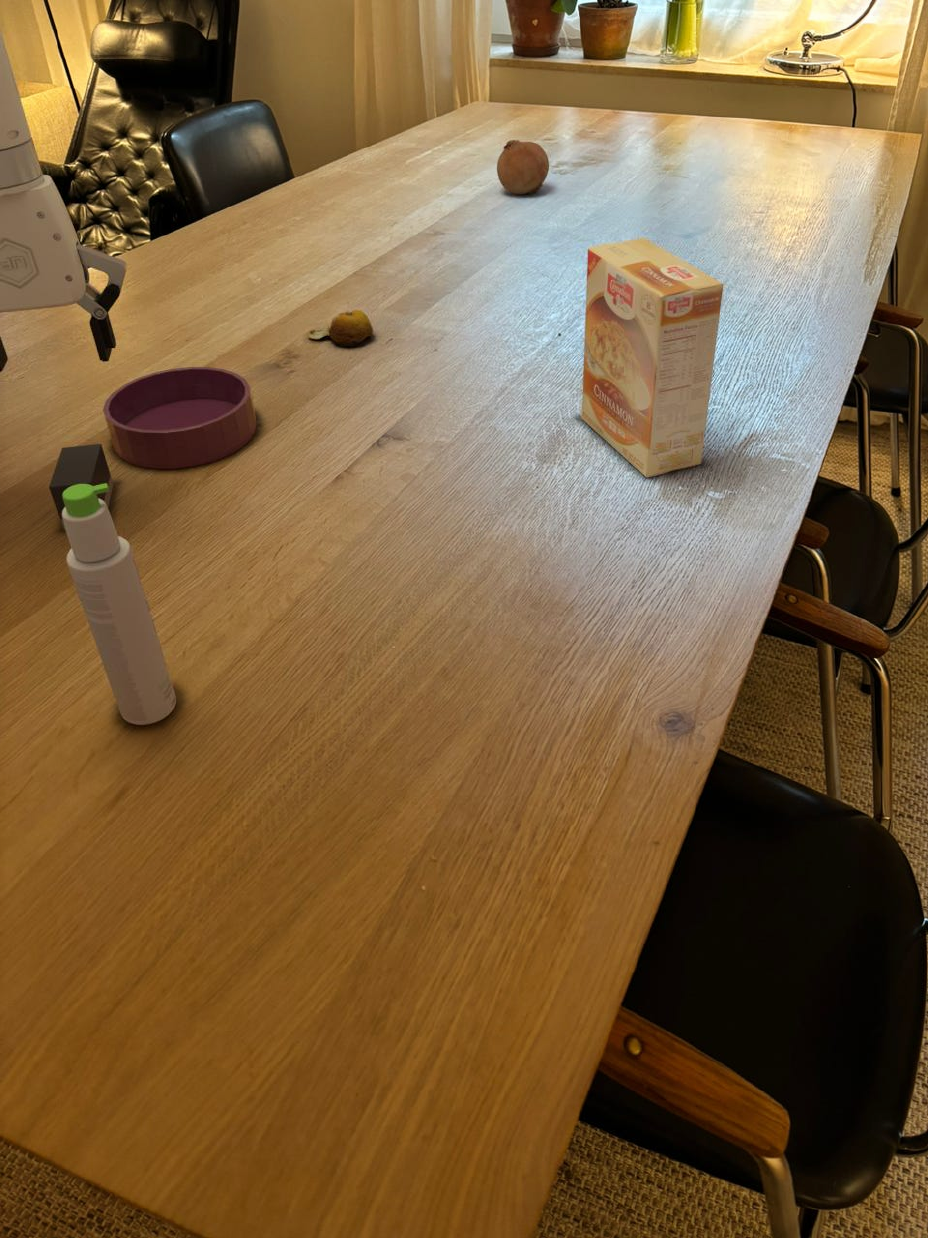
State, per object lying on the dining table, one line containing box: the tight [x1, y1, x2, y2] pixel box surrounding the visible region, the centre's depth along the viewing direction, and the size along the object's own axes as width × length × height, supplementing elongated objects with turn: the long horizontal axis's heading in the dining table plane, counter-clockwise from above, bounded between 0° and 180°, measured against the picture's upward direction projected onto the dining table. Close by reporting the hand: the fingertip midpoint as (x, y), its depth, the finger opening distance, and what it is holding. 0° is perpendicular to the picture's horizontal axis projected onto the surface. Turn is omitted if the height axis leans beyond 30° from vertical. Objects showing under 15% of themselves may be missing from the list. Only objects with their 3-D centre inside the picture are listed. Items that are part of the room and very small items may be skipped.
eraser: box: [48, 443, 114, 531], centre depth 101 cm, size 4×8×5 cm, turn 9°
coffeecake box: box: [580, 237, 725, 478], centre depth 103 cm, size 15×7×20 cm, turn 22°
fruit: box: [307, 309, 374, 348], centre depth 133 cm, size 8×8×4 cm
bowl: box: [102, 366, 257, 470], centre depth 113 cm, size 16×16×4 cm
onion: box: [496, 139, 550, 196], centre depth 180 cm, size 10×9×10 cm
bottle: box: [62, 483, 177, 726], centre depth 73 cm, size 4×4×20 cm
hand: (54, 361), depth 93 cm, fingers open, 9 cm apart
